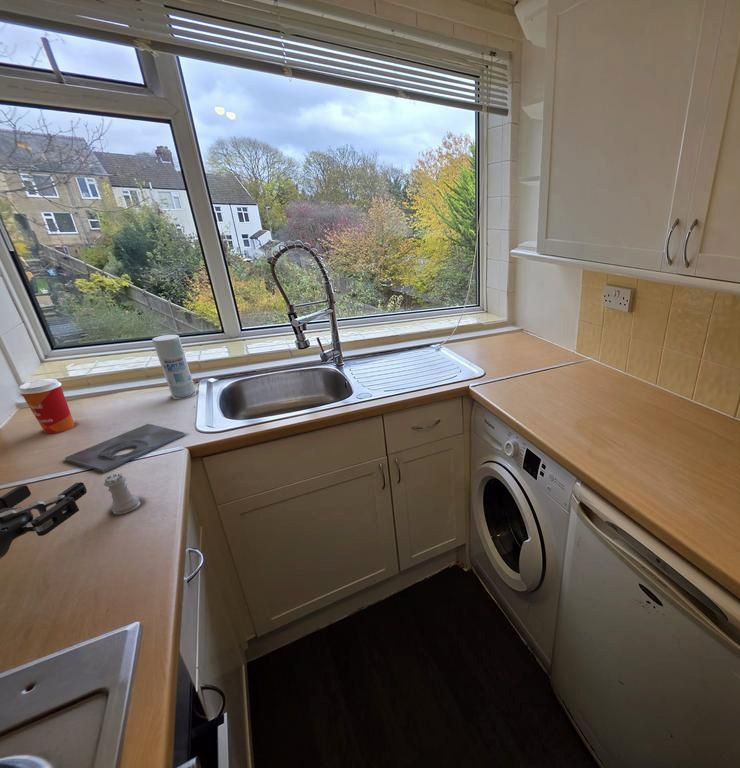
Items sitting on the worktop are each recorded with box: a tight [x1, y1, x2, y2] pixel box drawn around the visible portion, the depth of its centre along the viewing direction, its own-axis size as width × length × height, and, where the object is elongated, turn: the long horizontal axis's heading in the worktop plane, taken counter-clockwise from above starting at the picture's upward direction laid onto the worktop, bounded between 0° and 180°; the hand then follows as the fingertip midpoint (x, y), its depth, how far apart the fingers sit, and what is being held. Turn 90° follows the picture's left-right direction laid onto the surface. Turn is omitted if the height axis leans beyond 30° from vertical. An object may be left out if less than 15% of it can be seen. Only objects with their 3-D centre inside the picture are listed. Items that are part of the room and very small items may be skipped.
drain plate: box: [64, 423, 185, 474], centre depth 103 cm, size 18×14×2 cm
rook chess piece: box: [103, 472, 141, 515], centre depth 81 cm, size 4×4×8 cm
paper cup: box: [18, 378, 75, 434], centre depth 108 cm, size 8×8×14 cm
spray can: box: [151, 334, 197, 400], centre depth 128 cm, size 6×6×20 cm
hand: (54, 488), depth 68 cm, fingers open, 8 cm apart
